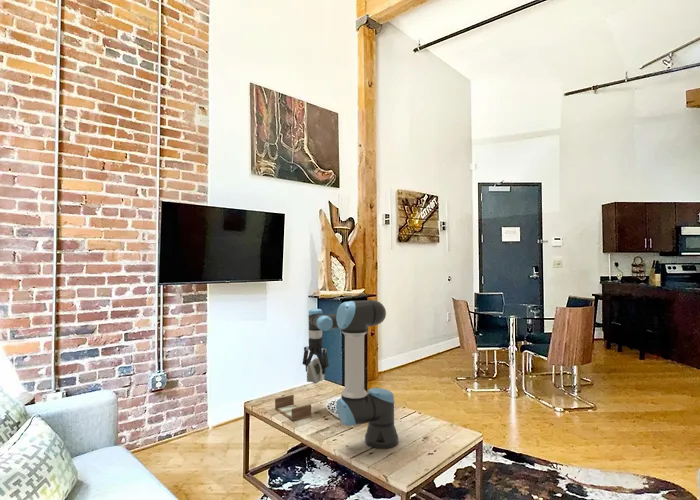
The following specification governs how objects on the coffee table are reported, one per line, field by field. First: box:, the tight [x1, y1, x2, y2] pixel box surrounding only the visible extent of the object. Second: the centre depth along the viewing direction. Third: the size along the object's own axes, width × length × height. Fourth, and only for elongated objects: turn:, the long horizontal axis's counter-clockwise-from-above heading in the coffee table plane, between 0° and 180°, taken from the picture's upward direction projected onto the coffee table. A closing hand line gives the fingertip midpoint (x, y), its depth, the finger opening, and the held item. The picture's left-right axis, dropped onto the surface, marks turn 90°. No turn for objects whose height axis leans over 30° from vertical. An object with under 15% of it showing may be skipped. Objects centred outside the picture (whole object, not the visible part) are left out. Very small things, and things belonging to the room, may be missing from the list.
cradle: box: [274, 394, 312, 422], centre depth 222 cm, size 20×11×6 cm, turn 36°
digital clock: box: [306, 356, 326, 384], centre depth 224 cm, size 16×9×11 cm, turn 156°
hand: (315, 378), depth 224 cm, fingers closed on digital clock, 8 cm apart
